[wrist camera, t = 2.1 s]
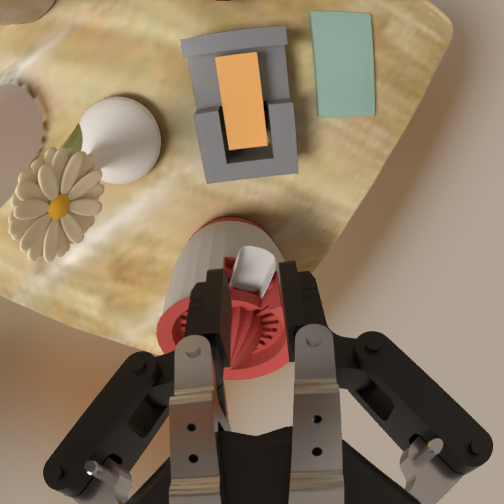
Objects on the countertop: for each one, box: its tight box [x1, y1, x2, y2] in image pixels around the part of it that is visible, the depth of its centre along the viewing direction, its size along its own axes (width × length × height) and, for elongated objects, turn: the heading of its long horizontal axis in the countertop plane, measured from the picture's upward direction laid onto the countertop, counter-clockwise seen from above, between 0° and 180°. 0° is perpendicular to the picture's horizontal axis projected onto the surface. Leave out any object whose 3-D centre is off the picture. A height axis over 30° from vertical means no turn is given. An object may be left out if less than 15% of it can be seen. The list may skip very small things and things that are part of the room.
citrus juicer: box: [156, 217, 289, 380], centre depth 38 cm, size 16×17×20 cm
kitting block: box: [180, 26, 298, 184], centre depth 31 cm, size 16×10×6 cm, turn 7°
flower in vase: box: [8, 96, 161, 262], centre depth 25 cm, size 13×11×25 cm
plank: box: [215, 52, 268, 150], centre depth 30 cm, size 10×4×2 cm, turn 7°
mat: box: [309, 11, 375, 118], centre depth 30 cm, size 13×7×1 cm, turn 7°
